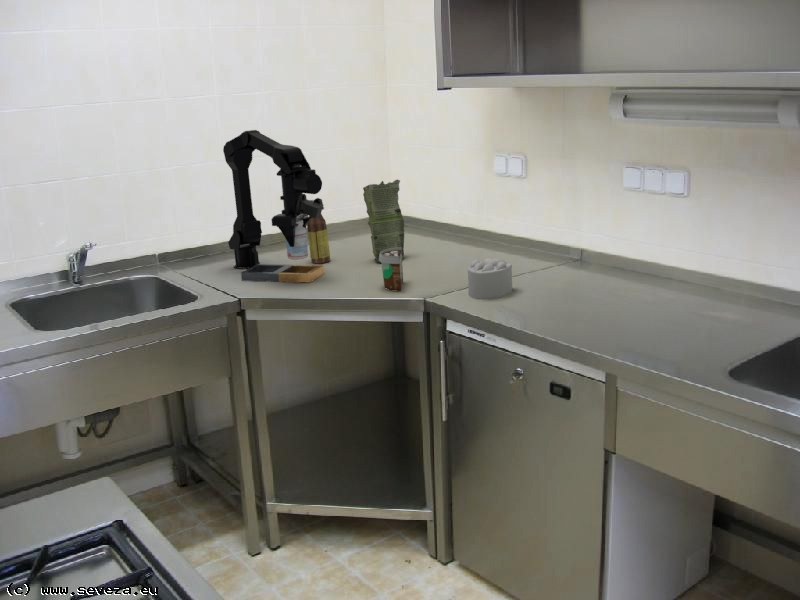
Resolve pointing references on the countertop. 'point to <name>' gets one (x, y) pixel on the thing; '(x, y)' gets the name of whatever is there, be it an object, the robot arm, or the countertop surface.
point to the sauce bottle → (318, 240)
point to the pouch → (384, 216)
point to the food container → (392, 268)
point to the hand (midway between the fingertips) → (296, 244)
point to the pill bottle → (298, 243)
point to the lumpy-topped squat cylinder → (489, 278)
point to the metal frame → (282, 273)
